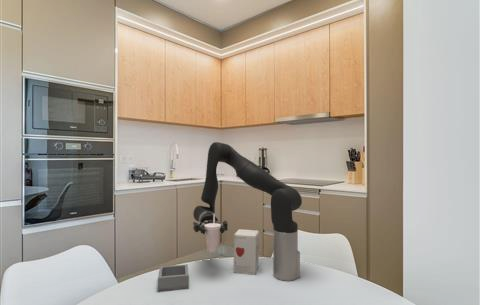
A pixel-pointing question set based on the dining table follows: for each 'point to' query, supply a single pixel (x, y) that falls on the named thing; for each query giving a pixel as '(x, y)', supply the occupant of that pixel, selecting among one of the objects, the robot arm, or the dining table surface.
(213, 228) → the smoothie
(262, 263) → the dining table surface
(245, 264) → the supplement box
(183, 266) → the box
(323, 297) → the dining table surface
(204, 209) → the robot arm
